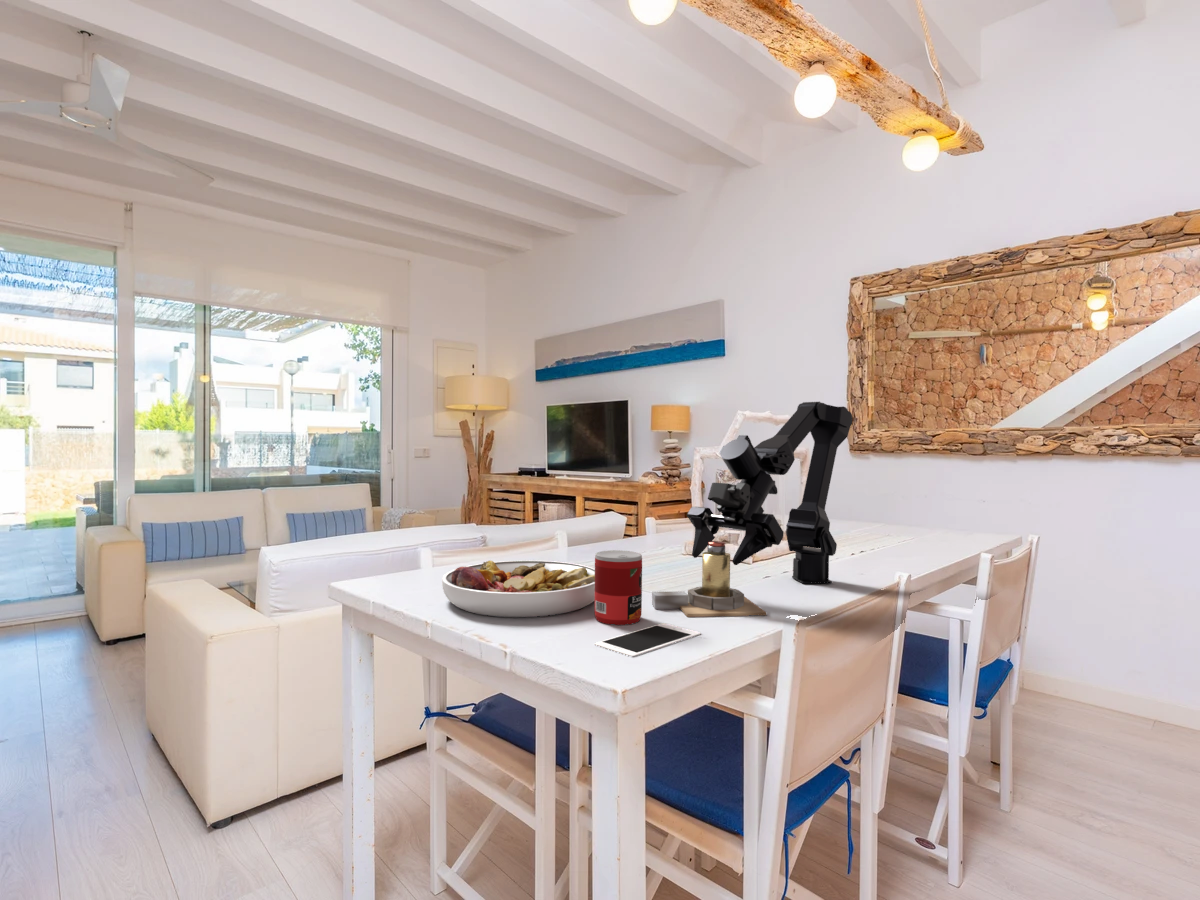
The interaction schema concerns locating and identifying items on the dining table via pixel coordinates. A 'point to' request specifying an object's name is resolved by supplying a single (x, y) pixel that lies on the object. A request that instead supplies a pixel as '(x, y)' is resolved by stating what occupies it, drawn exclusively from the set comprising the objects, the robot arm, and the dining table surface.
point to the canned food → (618, 587)
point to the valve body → (716, 570)
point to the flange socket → (706, 603)
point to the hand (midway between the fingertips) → (713, 559)
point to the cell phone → (647, 639)
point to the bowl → (520, 588)
